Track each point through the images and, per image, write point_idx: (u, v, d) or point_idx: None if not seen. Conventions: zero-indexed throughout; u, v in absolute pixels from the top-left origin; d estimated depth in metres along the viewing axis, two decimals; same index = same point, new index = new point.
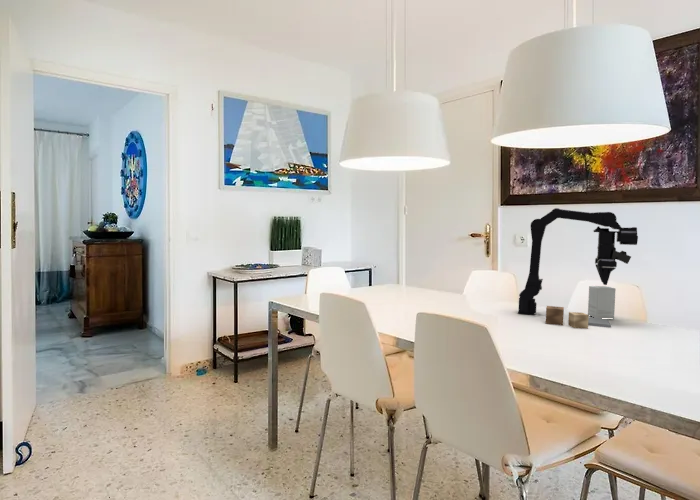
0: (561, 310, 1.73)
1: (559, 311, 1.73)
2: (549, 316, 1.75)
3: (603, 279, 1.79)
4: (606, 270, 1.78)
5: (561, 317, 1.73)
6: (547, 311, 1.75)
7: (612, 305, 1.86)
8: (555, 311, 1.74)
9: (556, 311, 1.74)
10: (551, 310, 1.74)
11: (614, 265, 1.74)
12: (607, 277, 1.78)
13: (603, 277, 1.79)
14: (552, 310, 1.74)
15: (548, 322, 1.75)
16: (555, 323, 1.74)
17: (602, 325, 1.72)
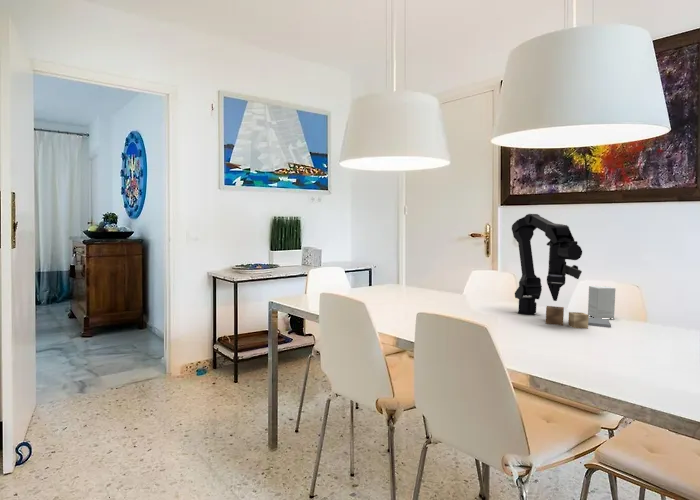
0: (561, 310, 1.73)
1: (559, 311, 1.73)
2: (549, 316, 1.75)
3: (553, 295, 1.72)
4: (556, 286, 1.71)
5: (561, 317, 1.73)
6: (547, 311, 1.75)
7: (612, 305, 1.86)
8: (555, 311, 1.74)
9: (556, 311, 1.74)
10: (551, 310, 1.74)
11: (563, 281, 1.67)
12: (557, 293, 1.71)
13: (553, 293, 1.72)
14: (552, 310, 1.74)
15: (548, 322, 1.75)
16: (555, 323, 1.74)
17: (602, 325, 1.72)
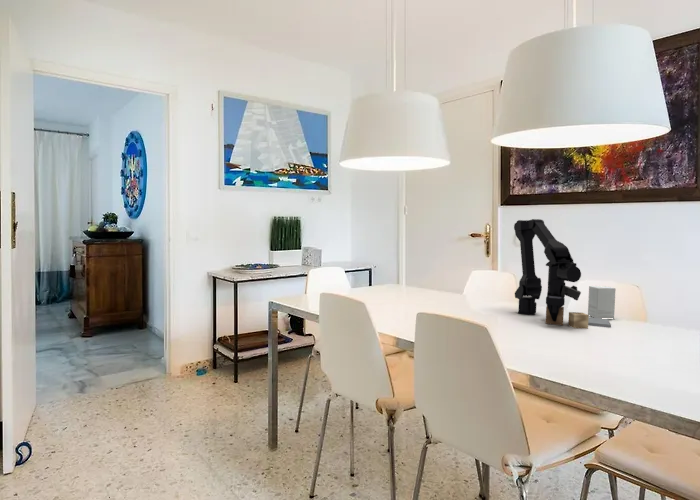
0: (561, 310, 1.73)
1: (559, 311, 1.73)
2: (549, 316, 1.75)
3: (552, 315, 1.73)
4: (555, 306, 1.73)
5: (561, 317, 1.73)
6: (547, 311, 1.75)
7: (612, 305, 1.86)
8: None
9: None
10: None
11: (562, 303, 1.67)
12: (556, 313, 1.73)
13: (552, 313, 1.73)
14: None
15: (548, 322, 1.75)
16: (555, 323, 1.74)
17: (602, 325, 1.72)
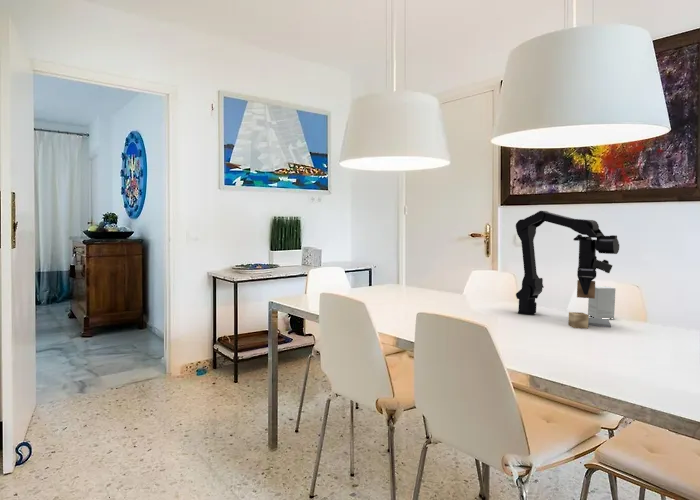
0: (593, 283, 1.74)
1: (590, 284, 1.74)
2: (581, 290, 1.75)
3: (583, 289, 1.74)
4: (586, 279, 1.73)
5: (593, 290, 1.74)
6: (578, 284, 1.76)
7: (612, 305, 1.86)
8: None
9: None
10: None
11: (594, 275, 1.68)
12: (588, 287, 1.73)
13: (583, 287, 1.74)
14: None
15: (579, 295, 1.76)
16: (587, 296, 1.75)
17: (602, 325, 1.72)
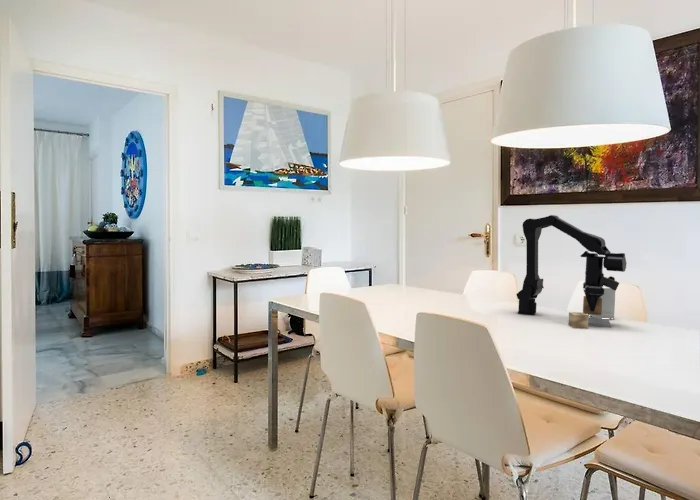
0: (599, 300, 1.75)
1: (597, 301, 1.75)
2: (588, 306, 1.76)
3: (590, 305, 1.75)
4: (593, 296, 1.74)
5: (599, 307, 1.75)
6: (585, 301, 1.77)
7: (612, 305, 1.86)
8: None
9: None
10: None
11: (601, 292, 1.69)
12: (595, 303, 1.74)
13: (590, 303, 1.75)
14: None
15: (586, 312, 1.77)
16: (593, 313, 1.76)
17: (602, 325, 1.72)
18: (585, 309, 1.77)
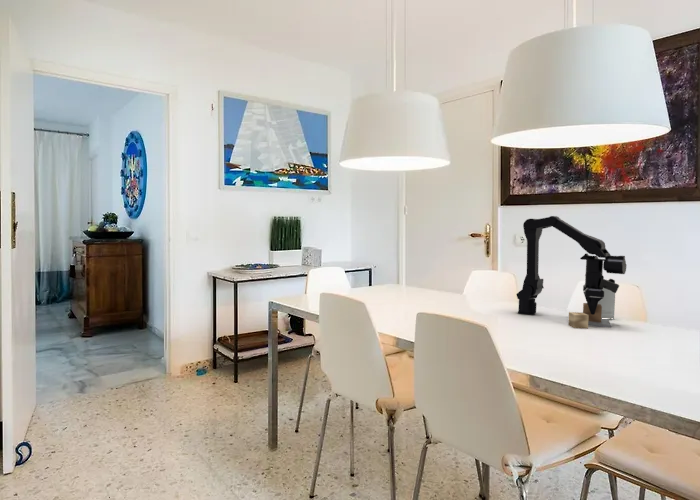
0: (599, 307, 1.75)
1: (597, 308, 1.75)
2: (587, 313, 1.77)
3: (590, 309, 1.74)
4: (593, 299, 1.73)
5: (599, 314, 1.75)
6: (585, 308, 1.77)
7: (612, 305, 1.86)
8: None
9: None
10: None
11: (601, 295, 1.69)
12: (595, 307, 1.73)
13: (590, 307, 1.74)
14: None
15: None
16: (593, 320, 1.76)
17: (602, 325, 1.72)
18: None
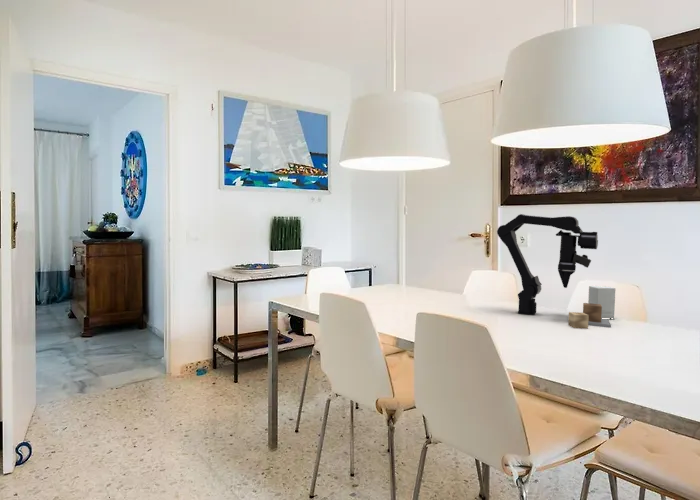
0: (599, 307, 1.75)
1: (597, 308, 1.75)
2: (587, 313, 1.77)
3: (563, 282, 1.83)
4: (566, 273, 1.82)
5: (599, 314, 1.75)
6: (585, 308, 1.77)
7: (612, 305, 1.86)
8: (593, 308, 1.76)
9: (594, 308, 1.76)
10: (589, 307, 1.76)
11: (573, 269, 1.77)
12: (567, 280, 1.82)
13: (563, 280, 1.82)
14: (590, 307, 1.76)
15: None
16: (593, 320, 1.76)
17: (602, 325, 1.72)
18: None
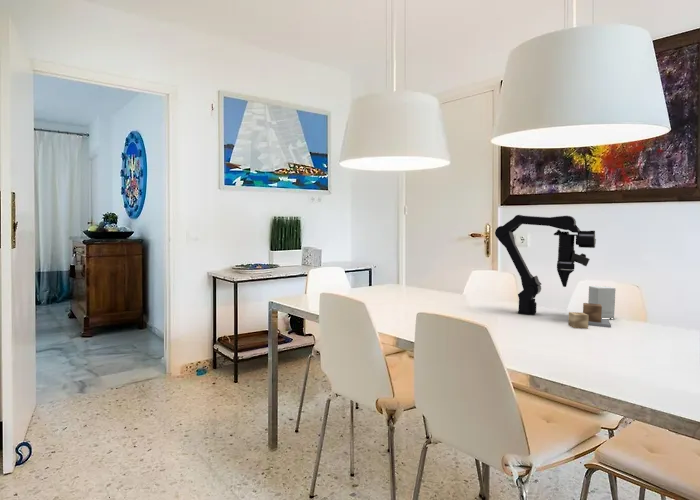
0: (599, 307, 1.75)
1: (597, 308, 1.75)
2: (587, 313, 1.77)
3: (562, 281, 1.83)
4: (565, 272, 1.82)
5: (599, 314, 1.75)
6: (585, 308, 1.77)
7: (612, 305, 1.86)
8: (593, 308, 1.76)
9: (594, 308, 1.76)
10: (589, 307, 1.76)
11: (572, 267, 1.78)
12: (566, 279, 1.82)
13: (562, 279, 1.83)
14: (590, 307, 1.76)
15: None
16: (593, 320, 1.76)
17: (602, 325, 1.72)
18: None
